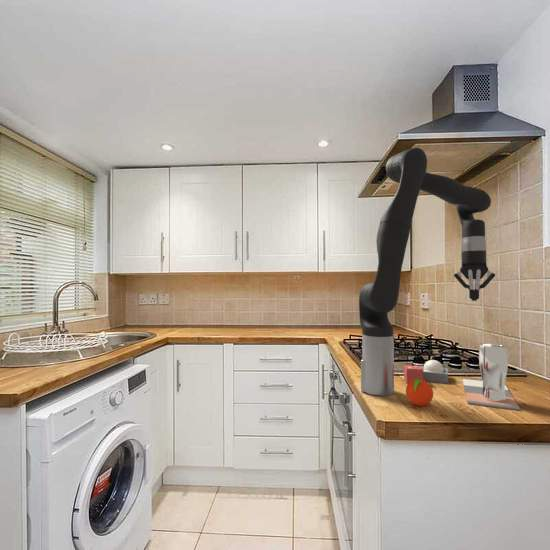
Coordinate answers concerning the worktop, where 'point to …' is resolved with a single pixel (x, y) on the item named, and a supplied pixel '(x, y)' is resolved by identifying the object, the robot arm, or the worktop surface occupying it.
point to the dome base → (436, 376)
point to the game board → (474, 397)
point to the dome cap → (433, 366)
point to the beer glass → (493, 371)
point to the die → (412, 373)
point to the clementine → (419, 392)
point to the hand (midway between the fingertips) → (474, 300)
